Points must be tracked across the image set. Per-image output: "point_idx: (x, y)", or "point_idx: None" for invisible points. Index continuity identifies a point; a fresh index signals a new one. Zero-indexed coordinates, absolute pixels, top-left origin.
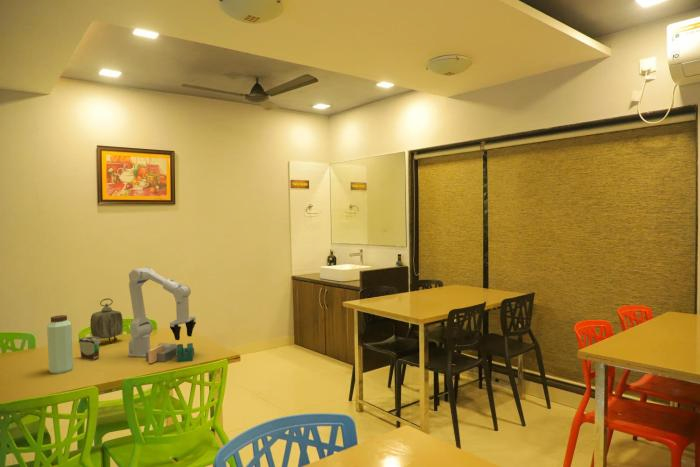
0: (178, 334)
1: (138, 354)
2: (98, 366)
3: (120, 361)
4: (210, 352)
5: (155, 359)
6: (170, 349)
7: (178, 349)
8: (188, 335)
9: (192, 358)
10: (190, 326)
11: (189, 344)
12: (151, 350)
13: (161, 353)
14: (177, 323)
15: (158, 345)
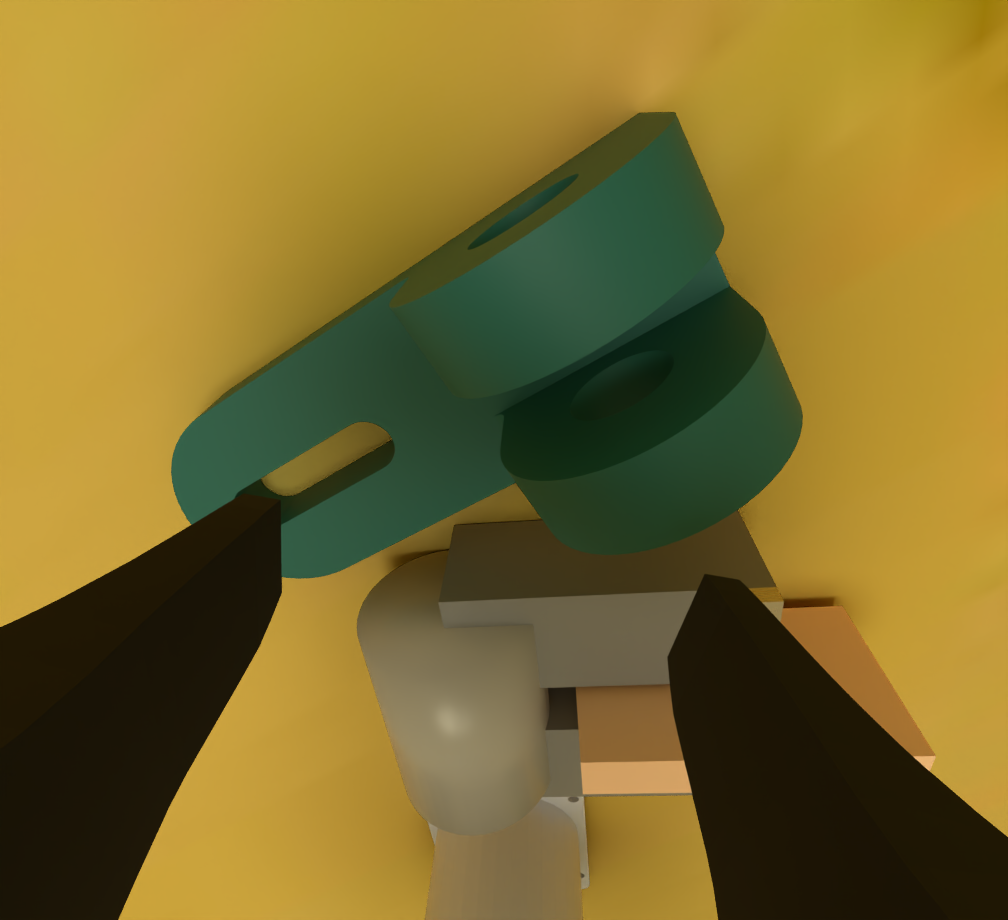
0: (858, 717)
1: (578, 841)
2: None
3: None
4: (79, 96)
5: None
6: (534, 632)
7: (791, 410)
8: (271, 579)
9: (576, 158)
10: (36, 812)
11: (608, 268)
12: (921, 759)
13: None
14: None
15: (519, 813)
